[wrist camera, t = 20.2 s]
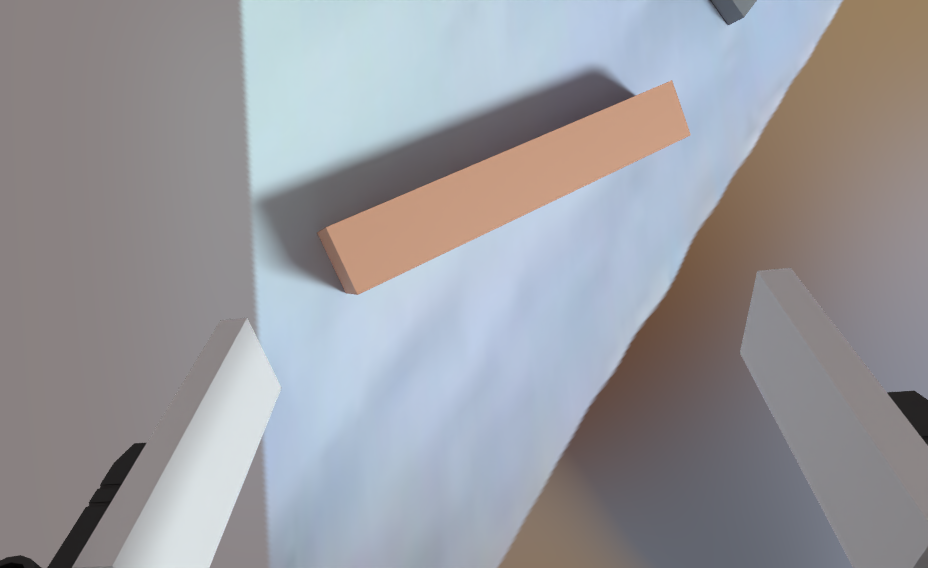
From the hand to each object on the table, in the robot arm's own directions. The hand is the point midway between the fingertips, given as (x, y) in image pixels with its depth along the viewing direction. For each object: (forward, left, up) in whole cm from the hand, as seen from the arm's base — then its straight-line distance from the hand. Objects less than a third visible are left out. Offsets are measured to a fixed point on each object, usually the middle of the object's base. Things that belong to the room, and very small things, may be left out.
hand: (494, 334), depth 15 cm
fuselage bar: (-8, +11, -21) cm, 25 cm away
